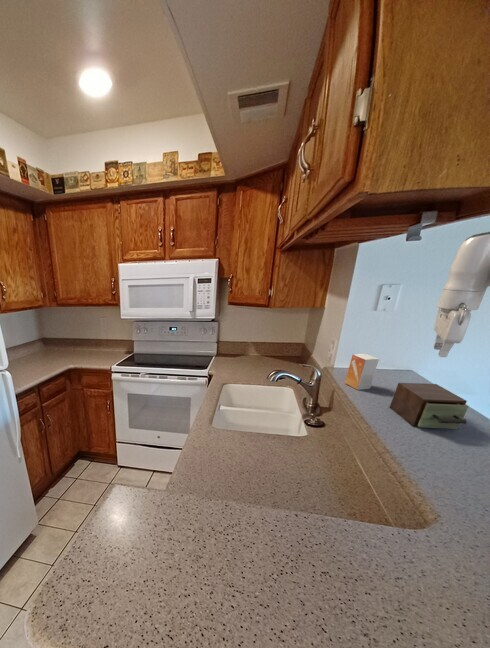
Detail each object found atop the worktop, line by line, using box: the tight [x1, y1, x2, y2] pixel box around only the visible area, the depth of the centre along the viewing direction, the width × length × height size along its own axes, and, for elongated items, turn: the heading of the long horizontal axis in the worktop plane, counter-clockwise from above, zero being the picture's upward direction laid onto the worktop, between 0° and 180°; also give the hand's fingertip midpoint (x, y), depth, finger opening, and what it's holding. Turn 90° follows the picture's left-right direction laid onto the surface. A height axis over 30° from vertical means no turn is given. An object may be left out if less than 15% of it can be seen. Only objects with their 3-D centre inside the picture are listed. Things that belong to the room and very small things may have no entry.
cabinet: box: [389, 382, 468, 428], centre depth 111 cm, size 16×13×10 cm
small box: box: [344, 353, 380, 391], centre depth 137 cm, size 8×6×13 cm
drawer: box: [417, 402, 469, 430], centre depth 107 cm, size 19×11×8 cm, turn 174°
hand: (439, 352), depth 95 cm, fingers open, 8 cm apart
